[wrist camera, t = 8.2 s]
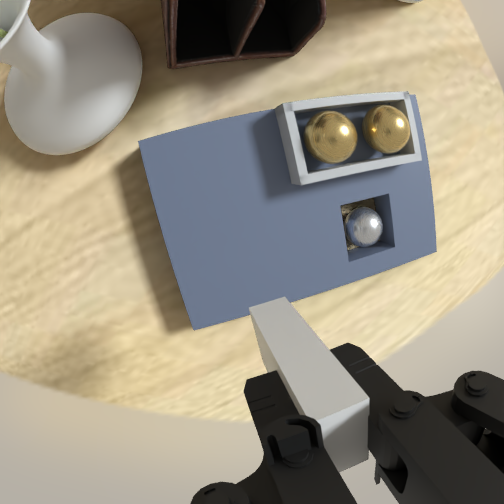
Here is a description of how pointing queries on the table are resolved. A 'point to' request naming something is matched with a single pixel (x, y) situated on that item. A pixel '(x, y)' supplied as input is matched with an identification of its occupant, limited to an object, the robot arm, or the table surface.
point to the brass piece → (330, 137)
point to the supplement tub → (410, 1)
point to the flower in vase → (66, 77)
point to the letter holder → (237, 29)
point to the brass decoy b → (385, 129)
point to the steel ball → (363, 227)
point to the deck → (283, 205)
